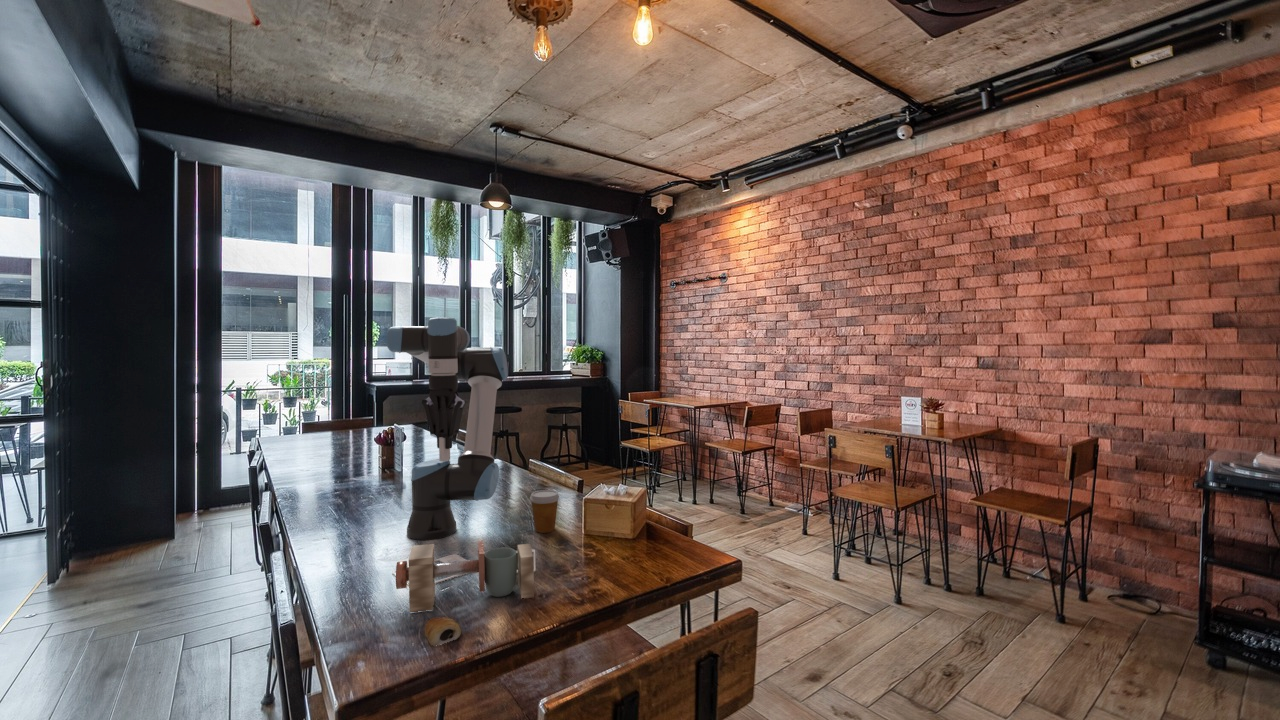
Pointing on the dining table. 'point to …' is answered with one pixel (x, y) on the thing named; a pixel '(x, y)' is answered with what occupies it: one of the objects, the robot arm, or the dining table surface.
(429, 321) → the robot arm
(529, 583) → the end block
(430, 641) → the pastry
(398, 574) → the shaft
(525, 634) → the dining table surface
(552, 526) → the disposable coffee cup
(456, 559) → the photo frame
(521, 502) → the dining table surface
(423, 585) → the bearing block
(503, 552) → the cup
